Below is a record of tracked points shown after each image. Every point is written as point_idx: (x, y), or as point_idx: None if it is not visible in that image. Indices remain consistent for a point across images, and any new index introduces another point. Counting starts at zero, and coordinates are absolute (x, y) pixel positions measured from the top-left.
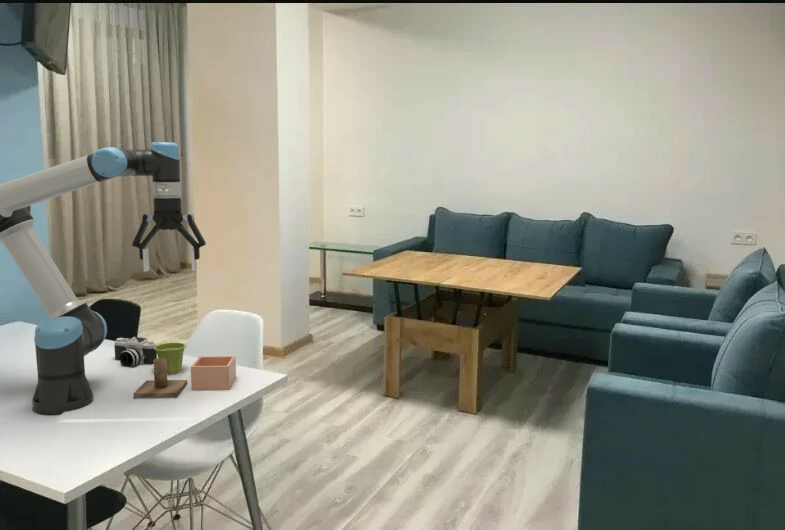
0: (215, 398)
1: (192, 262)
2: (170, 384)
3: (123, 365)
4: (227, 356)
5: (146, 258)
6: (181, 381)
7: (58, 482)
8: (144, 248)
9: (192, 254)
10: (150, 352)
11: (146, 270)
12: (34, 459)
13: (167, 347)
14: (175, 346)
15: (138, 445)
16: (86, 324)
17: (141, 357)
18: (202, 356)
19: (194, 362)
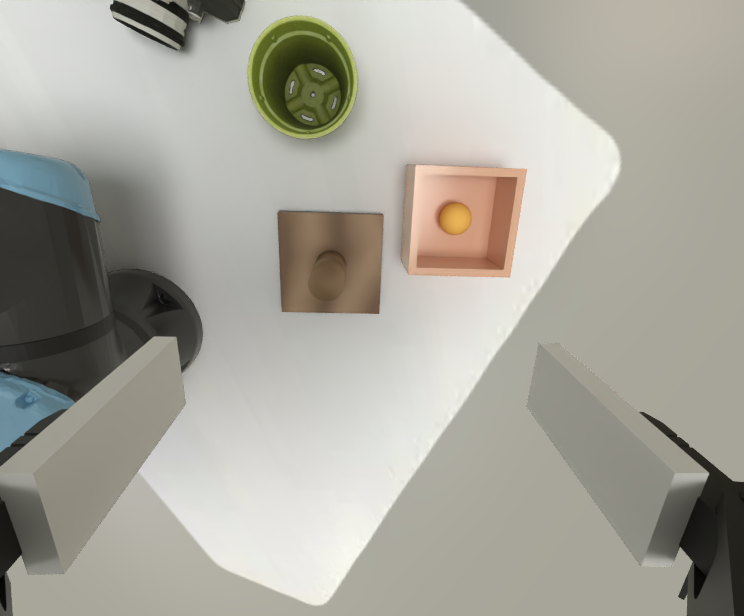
0: (461, 318)
1: (566, 451)
2: (349, 251)
3: (143, 34)
4: (502, 171)
5: (129, 461)
6: (371, 228)
7: (302, 592)
8: (10, 520)
9: (613, 508)
10: (214, 3)
11: (181, 406)
12: (237, 542)
13: (282, 33)
14: (310, 29)
15: (367, 509)
16: (40, 326)
17: (189, 13)
18: (425, 165)
19: (411, 232)
